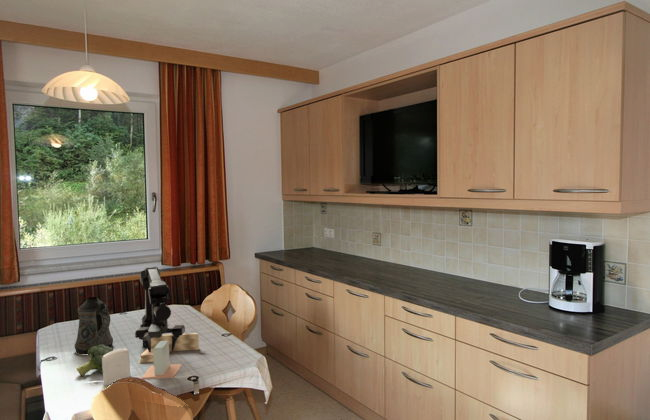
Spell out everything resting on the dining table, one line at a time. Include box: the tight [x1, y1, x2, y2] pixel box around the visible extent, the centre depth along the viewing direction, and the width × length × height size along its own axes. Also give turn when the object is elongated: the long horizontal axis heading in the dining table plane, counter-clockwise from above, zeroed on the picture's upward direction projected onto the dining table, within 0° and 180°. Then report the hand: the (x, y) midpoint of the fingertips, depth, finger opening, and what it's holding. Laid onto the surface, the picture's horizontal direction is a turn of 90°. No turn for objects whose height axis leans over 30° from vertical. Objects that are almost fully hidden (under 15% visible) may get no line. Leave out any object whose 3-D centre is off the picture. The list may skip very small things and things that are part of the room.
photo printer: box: [102, 348, 131, 386], centre depth 175 cm, size 10×4×12 cm, turn 140°
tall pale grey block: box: [153, 341, 171, 375], centre depth 182 cm, size 4×9×11 cm, turn 4°
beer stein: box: [73, 296, 114, 355], centre depth 210 cm, size 16×19×25 cm
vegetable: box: [76, 344, 114, 376], centre depth 183 cm, size 12×13×15 cm
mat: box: [141, 363, 183, 380], centre depth 182 cm, size 13×12×1 cm
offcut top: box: [140, 348, 154, 358], centre depth 195 cm, size 6×7×2 cm
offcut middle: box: [139, 357, 154, 363], centre depth 195 cm, size 7×8×2 cm
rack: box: [151, 332, 200, 354], centre depth 198 cm, size 22×14×8 cm, turn 94°
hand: (161, 351), depth 182 cm, fingers open, 9 cm apart
